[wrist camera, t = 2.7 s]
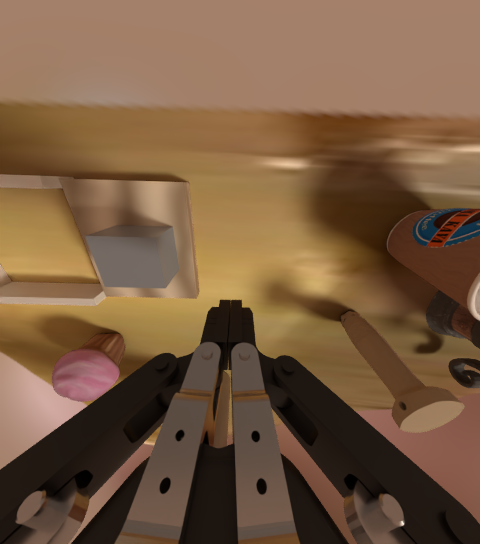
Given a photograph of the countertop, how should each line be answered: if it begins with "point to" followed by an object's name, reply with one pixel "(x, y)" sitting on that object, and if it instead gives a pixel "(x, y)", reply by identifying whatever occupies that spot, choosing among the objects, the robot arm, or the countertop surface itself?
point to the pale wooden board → (138, 223)
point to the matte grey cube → (135, 255)
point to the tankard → (456, 334)
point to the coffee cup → (442, 251)
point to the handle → (401, 380)
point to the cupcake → (89, 368)
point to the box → (42, 292)
